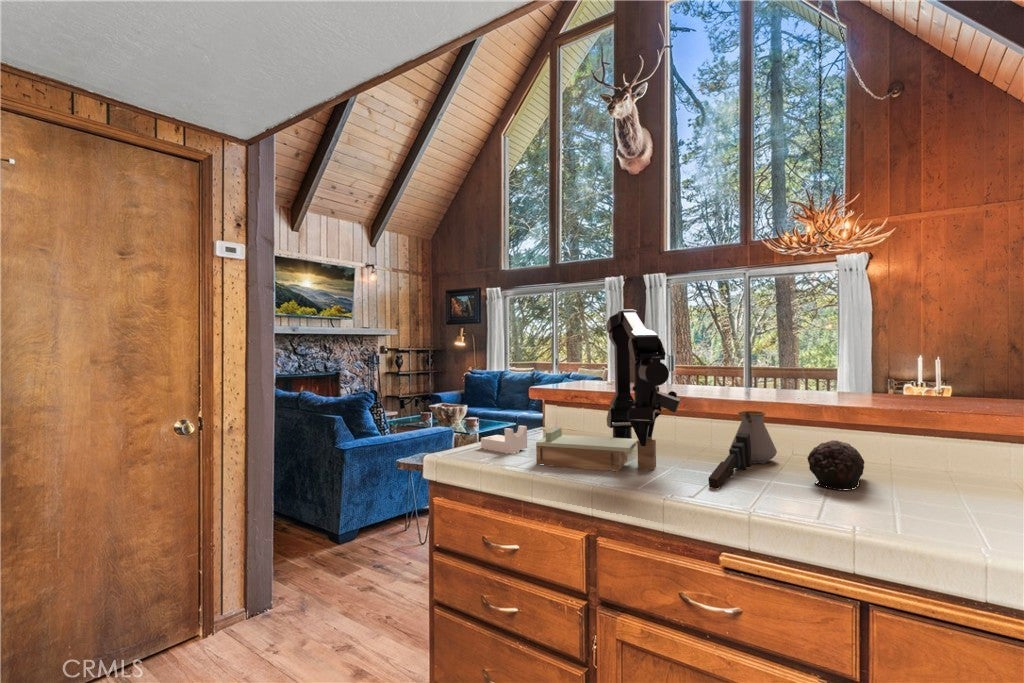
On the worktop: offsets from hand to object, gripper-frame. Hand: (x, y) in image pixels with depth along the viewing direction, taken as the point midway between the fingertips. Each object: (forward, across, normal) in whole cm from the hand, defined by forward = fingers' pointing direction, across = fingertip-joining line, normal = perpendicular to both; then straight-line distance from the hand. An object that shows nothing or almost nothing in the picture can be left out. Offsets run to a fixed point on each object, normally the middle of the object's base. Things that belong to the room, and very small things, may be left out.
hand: (646, 442), depth 136 cm
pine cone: (+7, 0, -42) cm, 43 cm away
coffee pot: (+7, +12, -25) cm, 28 cm away
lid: (+1, 0, +16) cm, 16 cm away
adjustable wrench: (+7, -2, -20) cm, 21 cm away
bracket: (+7, +10, +45) cm, 46 cm away
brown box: (+6, 0, +17) cm, 18 cm away
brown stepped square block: (+6, 0, 0) cm, 7 cm away
